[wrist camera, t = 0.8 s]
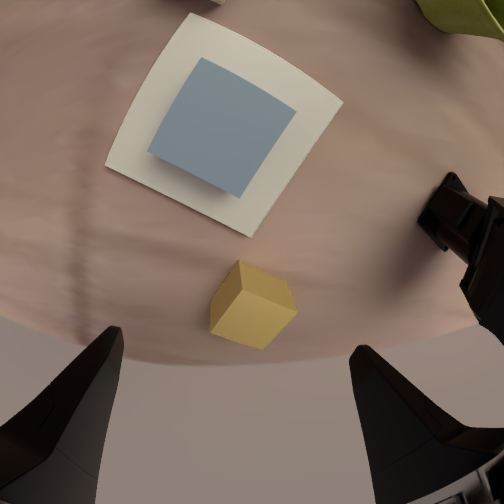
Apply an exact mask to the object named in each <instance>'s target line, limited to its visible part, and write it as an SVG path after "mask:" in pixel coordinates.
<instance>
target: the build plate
mask: <svg viewBox="0 0 504 504" xmlns="http://www.w3.org/2000/svg"><path fill="white" fill-rule="evenodd" d="M201 57H202V58H204V59H206V60H209V61H211V62H213V63H215V64H217V65H219V66H221V67H223V68H225V69H226V70H228V71H230V72H232V73H234V74H236V75H238V76H240V77H241V78H243V79H245V80H247V81H248V82H250V83H252V84H254V85H255V86H257V87H259V88H260V89H262V90H264V91H265V92H267V93H269V94H270V95H272V96H274V97H275V98H277V99H278V100H280V101H282V102H283V103H285V104H286V105H288V106H289V107H291V108H292V109H294V110H295V111H297V112H296V114H295V115H294V117H293V118H292V119H291V121H290V122H289V124H288V125H287V127H286V128H285V130H284V131H283V133H282V134H281V136H280V137H279V139H278V140H277V142H276V143H275V145H274V146H273V148H272V149H271V151H270V152H269V154H268V155H267V157H266V158H265V160H264V161H263V163H262V164H261V166H260V167H259V169H258V170H257V172H256V173H255V175H254V177H253V178H252V180H251V181H250V183H249V184H248V186H247V187H246V189H245V191H244V192H243V194H242V195H241V197H240V198H237V197H235V196H234V195H232V194H230V193H228V192H226V191H224V190H222V189H220V188H218V187H217V186H215V185H213V184H211V183H209V182H207V181H205V180H203V179H201V178H199V177H197V176H195V175H193V174H191V173H190V172H188V171H186V170H184V169H182V168H180V167H178V166H176V165H174V164H172V163H170V162H168V161H166V160H164V159H162V158H160V157H157V156H155V155H153V154H151V153H149V152H147V150H148V148H149V146H150V144H151V142H152V140H153V138H154V136H155V134H156V132H157V130H158V128H159V126H160V125H161V123H162V121H163V119H164V117H165V115H166V114H167V112H168V110H169V108H170V106H171V105H172V103H173V101H174V99H175V98H176V96H177V94H178V93H179V91H180V89H181V88H182V86H183V85H184V83H185V81H186V80H187V78H188V77H189V75H190V73H191V72H192V70H193V69H194V67H195V66H196V64H197V63H198V61H199V60H200V58H201ZM343 103H344V102H342V101H341V100H340V99H339V98H337V97H336V96H335V95H334V94H332V93H331V92H330V91H328V90H327V89H326V88H324V87H323V86H322V85H320V84H319V83H318V82H316V81H315V80H313V79H312V78H311V77H309V76H308V75H306V74H305V73H303V72H302V71H300V70H299V69H297V68H296V67H294V66H293V65H291V64H290V63H288V62H287V61H285V60H284V59H282V58H280V57H279V56H277V55H275V54H274V53H272V52H270V51H269V50H267V49H265V48H263V47H262V46H260V45H258V44H256V43H255V42H253V41H251V40H249V39H247V38H245V37H243V36H241V35H239V34H237V33H236V32H233V31H231V30H229V29H227V28H225V27H223V26H221V25H219V24H217V23H214V22H212V21H210V20H208V19H205V18H203V17H200V16H198V15H196V14H193V13H190V14H189V15H188V16H187V18H186V19H185V20H184V21H183V23H182V24H181V25H180V27H179V28H178V30H177V31H176V32H175V34H174V35H173V37H172V38H171V39H170V41H169V42H168V44H167V45H166V47H165V48H164V50H163V51H162V53H161V54H160V56H159V58H158V59H157V61H156V62H155V64H154V66H153V67H152V69H151V71H150V72H149V74H148V76H147V77H146V79H145V81H144V83H143V84H142V86H141V88H140V90H139V92H138V93H137V95H136V97H135V99H134V101H133V103H132V105H131V107H130V109H129V111H128V113H127V115H126V117H125V119H124V121H123V123H122V125H121V127H120V130H119V132H118V134H117V136H116V138H115V141H114V143H113V145H112V148H111V150H110V153H109V155H108V158H107V160H106V163H105V166H107V167H109V168H111V169H113V170H115V171H117V172H119V173H121V174H124V175H126V176H128V177H130V178H132V179H134V180H136V181H138V182H140V183H142V184H144V185H146V186H148V187H150V188H152V189H154V190H156V191H158V192H160V193H162V194H164V195H166V196H168V197H170V198H173V199H175V200H177V201H179V202H181V203H183V204H185V205H187V206H189V207H191V208H193V209H195V210H197V211H199V212H201V213H203V214H205V215H207V216H209V217H211V218H213V219H215V220H217V221H219V222H221V223H223V224H225V225H227V226H229V227H231V228H233V229H235V230H237V231H238V232H240V233H242V234H244V235H246V236H248V237H250V238H251V237H252V235H253V234H254V232H255V231H256V229H257V228H258V226H259V225H260V223H261V222H262V220H263V219H264V217H265V216H266V214H267V213H268V212H269V210H270V209H271V207H272V206H273V204H274V203H275V201H276V200H277V198H278V197H279V195H280V194H281V192H282V191H283V189H284V188H285V187H286V185H287V184H288V182H289V181H290V179H291V178H292V176H293V175H294V173H295V172H296V170H297V169H298V168H299V166H300V165H301V163H302V162H303V160H304V159H305V157H306V156H307V154H308V153H309V152H310V150H311V149H312V147H313V146H314V144H315V143H316V141H317V140H318V139H319V137H320V136H321V134H322V133H323V131H324V130H325V128H326V127H327V126H328V124H329V123H330V121H331V120H332V118H333V117H334V115H335V114H336V113H337V111H338V110H339V108H340V107H341V105H342V104H343Z"/></svg>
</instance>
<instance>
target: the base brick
mask: <svg viewBox="0 0 504 504" xmlns="http://www.w3.org/2000/svg"><path fill="white" fill-rule="evenodd" d="M296 112H297V111H295V110H294V109H292V108H291V107H289V106H288V105H286V104H285V103H283V102H282V101H280V100H278V99H277V98H275V97H274V96H272V95H270V94H269V93H267V92H265V91H264V90H262V89H260V88H259V87H257V86H255V85H254V84H252V83H250V82H248V81H247V80H245V79H243V78H241V77H240V76H238V75H236V74H234V73H232V72H230V71H228V70H226V69H225V68H223V67H221V66H219V65H217V64H215V63H213V62H211V61H209V60H206V59H204V58H202V57H201V58H200V60H199V61H198V63H197V64H196V66H195V67H194V69H193V70H192V72H191V73H190V75H189V77H188V78H187V80H186V81H185V83H184V85H183V86H182V88H181V89H180V91H179V93H178V94H177V96H176V98H175V99H174V101H173V103H172V105H171V106H170V108H169V110H168V112H167V114H166V115H165V117H164V119H163V121H162V123H161V125H160V126H159V128H158V130H157V132H156V134H155V136H154V138H153V140H152V142H151V144H150V146H149V148H148V150H147V152H149V153H151V154H153V155H155V156H157V157H160V158H162V159H164V160H166V161H168V162H170V163H172V164H174V165H176V166H178V167H180V168H182V169H184V170H186V171H188V172H190V173H191V174H193V175H195V176H197V177H199V178H201V179H203V180H205V181H207V182H209V183H211V184H213V185H215V186H217V187H218V188H220V189H222V190H224V191H226V192H228V193H230V194H232V195H234V196H235V197H237V198H240V197H241V195H242V194H243V192H244V191H245V189H246V187H247V186H248V184H249V183H250V181H251V180H252V178H253V177H254V175H255V173H256V172H257V170H258V169H259V167H260V166H261V164H262V163H263V161H264V160H265V158H266V157H267V155H268V154H269V152H270V151H271V149H272V148H273V146H274V145H275V143H276V142H277V140H278V139H279V137H280V136H281V134H282V133H283V131H284V130H285V128H286V127H287V125H288V124H289V122H290V121H291V119H292V118H293V117H294V115H295V114H296Z"/></svg>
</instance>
